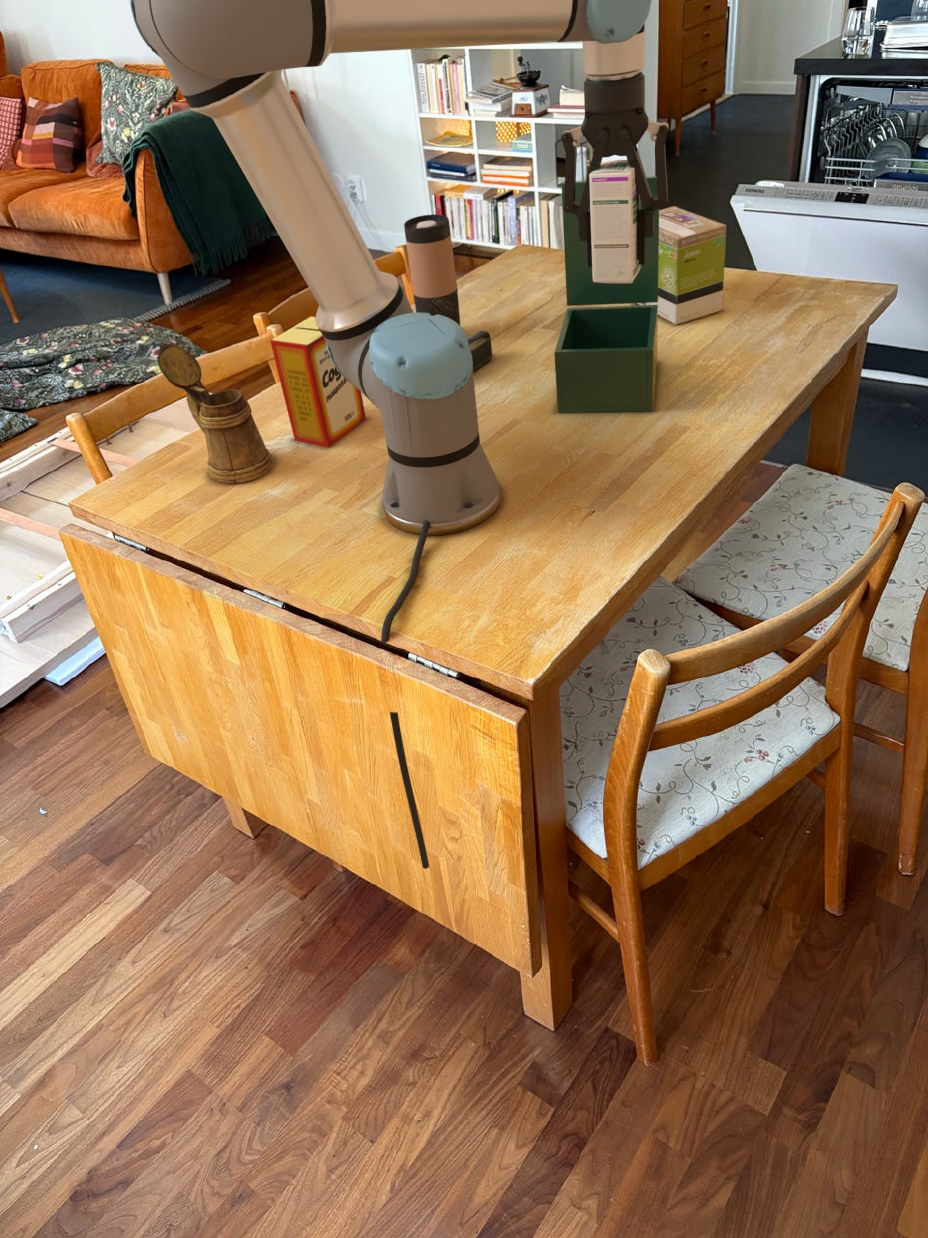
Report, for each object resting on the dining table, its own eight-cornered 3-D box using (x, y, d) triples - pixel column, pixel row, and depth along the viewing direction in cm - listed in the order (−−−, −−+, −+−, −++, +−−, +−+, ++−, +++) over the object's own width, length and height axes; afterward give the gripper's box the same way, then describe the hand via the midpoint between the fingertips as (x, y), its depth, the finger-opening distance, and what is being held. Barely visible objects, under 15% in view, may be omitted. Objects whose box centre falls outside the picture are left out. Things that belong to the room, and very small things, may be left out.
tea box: (626, 301, 173) (625, 216, 164) (673, 288, 176) (675, 203, 166) (675, 326, 162) (677, 236, 153) (724, 311, 164) (729, 222, 155)
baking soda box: (328, 447, 141) (305, 343, 131) (294, 440, 144) (269, 337, 134) (366, 419, 147) (346, 317, 137) (333, 412, 150) (311, 313, 140)
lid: (659, 177, 134) (661, 162, 140) (561, 183, 137) (567, 169, 143) (657, 302, 145) (659, 284, 151) (566, 305, 148) (572, 287, 154)
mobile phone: (478, 327, 158) (425, 360, 149) (493, 329, 157) (441, 363, 148) (481, 355, 161) (429, 390, 152) (496, 358, 160) (444, 393, 151)
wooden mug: (217, 444, 146) (183, 330, 135) (285, 459, 139) (255, 340, 128) (176, 472, 140) (136, 355, 129) (245, 489, 134) (209, 367, 123)
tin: (652, 411, 138) (653, 349, 133) (557, 412, 141) (554, 352, 136) (657, 362, 151) (657, 304, 145) (569, 365, 154) (567, 307, 148)
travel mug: (464, 328, 171) (451, 212, 159) (460, 345, 165) (446, 226, 153) (422, 331, 172) (406, 216, 160) (417, 348, 167) (399, 230, 154)
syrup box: (633, 283, 131) (634, 170, 122) (590, 283, 133) (588, 171, 124) (641, 269, 135) (642, 158, 126) (599, 268, 137) (598, 159, 128)
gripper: (694, 60, 119) (688, 249, 133) (541, 74, 123) (551, 256, 137) (693, 72, 113) (687, 268, 127) (533, 86, 118) (544, 274, 132)
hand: (616, 261), depth 132 cm, fingers closed on syrup box, 6 cm apart
